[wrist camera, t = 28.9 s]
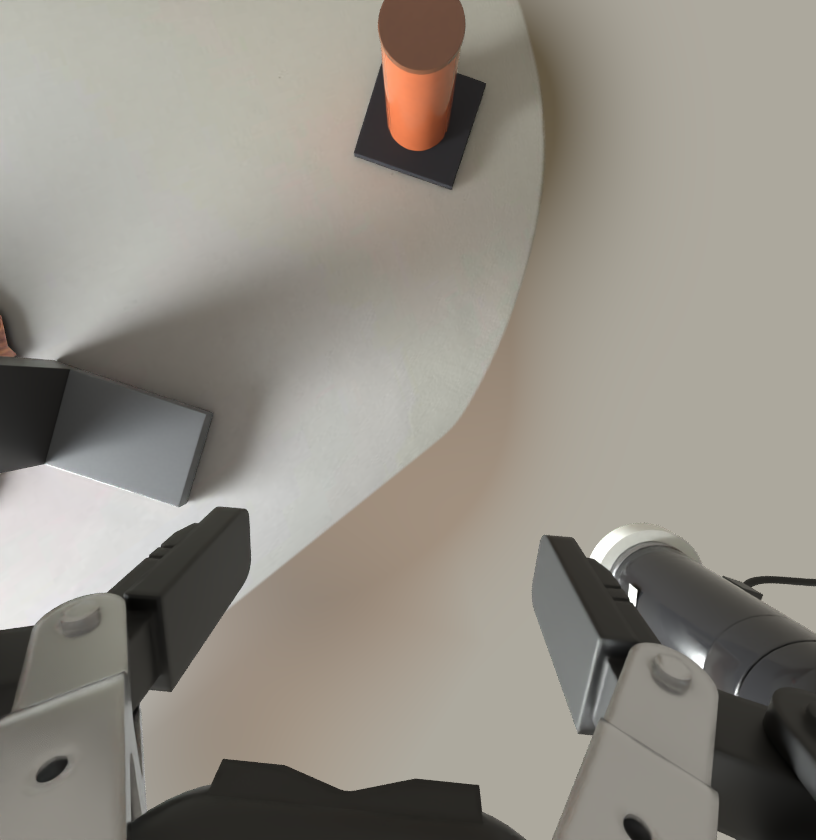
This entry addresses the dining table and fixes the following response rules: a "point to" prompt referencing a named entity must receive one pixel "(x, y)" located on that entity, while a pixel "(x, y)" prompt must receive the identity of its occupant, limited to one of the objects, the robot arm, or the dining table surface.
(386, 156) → the mat
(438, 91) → the canister
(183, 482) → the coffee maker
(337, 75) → the dining table surface
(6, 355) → the cutting board
